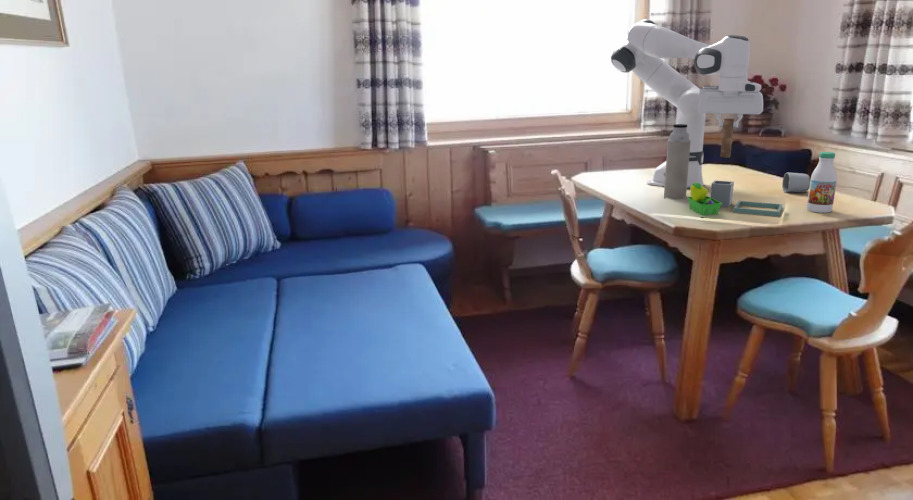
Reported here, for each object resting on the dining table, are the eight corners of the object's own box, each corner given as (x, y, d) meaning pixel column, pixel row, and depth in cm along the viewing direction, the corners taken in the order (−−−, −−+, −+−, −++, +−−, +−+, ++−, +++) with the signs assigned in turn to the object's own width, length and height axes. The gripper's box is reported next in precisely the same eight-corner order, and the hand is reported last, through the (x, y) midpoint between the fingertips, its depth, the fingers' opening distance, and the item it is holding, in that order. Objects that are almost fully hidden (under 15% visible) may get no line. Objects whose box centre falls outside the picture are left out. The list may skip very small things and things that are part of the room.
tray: (732, 215, 214) (733, 207, 214) (738, 207, 224) (738, 200, 223) (778, 219, 207) (779, 211, 207) (781, 211, 217) (782, 204, 216)
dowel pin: (719, 157, 219) (723, 119, 215) (721, 155, 221) (724, 118, 218) (729, 157, 217) (733, 119, 213) (730, 156, 220) (734, 118, 216)
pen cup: (709, 208, 224) (711, 183, 221) (712, 204, 229) (714, 180, 226) (728, 210, 221) (731, 185, 218) (731, 206, 226) (733, 181, 223)
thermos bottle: (663, 196, 244) (669, 123, 236) (685, 197, 242) (691, 123, 234) (663, 200, 237) (668, 125, 229) (685, 201, 235) (692, 125, 226)
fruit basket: (721, 217, 212) (725, 184, 208) (696, 219, 211) (699, 186, 208) (706, 210, 222) (709, 178, 219) (682, 211, 222) (684, 179, 218)
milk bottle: (801, 208, 220) (809, 151, 214) (822, 207, 221) (831, 150, 215) (815, 213, 213) (823, 154, 207) (837, 212, 213) (846, 153, 207)
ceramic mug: (810, 194, 241) (813, 174, 239) (787, 194, 242) (790, 174, 240) (799, 188, 251) (802, 169, 249) (777, 188, 252) (780, 169, 250)
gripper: (698, 86, 215) (694, 127, 219) (764, 86, 205) (759, 129, 209) (701, 85, 220) (698, 125, 224) (766, 85, 210) (761, 127, 214)
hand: (728, 127), depth 216 cm, fingers closed on dowel pin, 3 cm apart
